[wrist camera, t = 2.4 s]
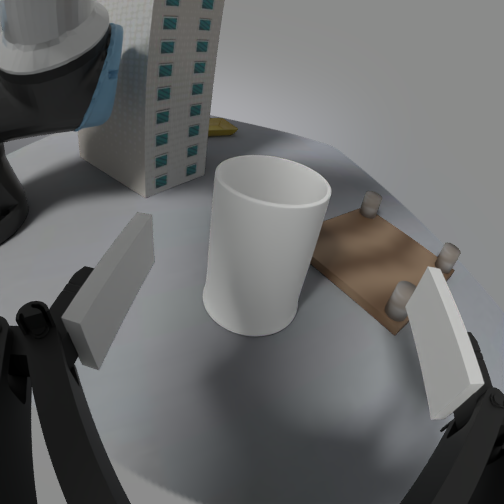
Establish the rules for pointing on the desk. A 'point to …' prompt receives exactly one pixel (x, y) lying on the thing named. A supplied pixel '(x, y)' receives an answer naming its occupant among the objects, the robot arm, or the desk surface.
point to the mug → (261, 241)
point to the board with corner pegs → (376, 261)
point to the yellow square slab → (220, 127)
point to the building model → (158, 94)
